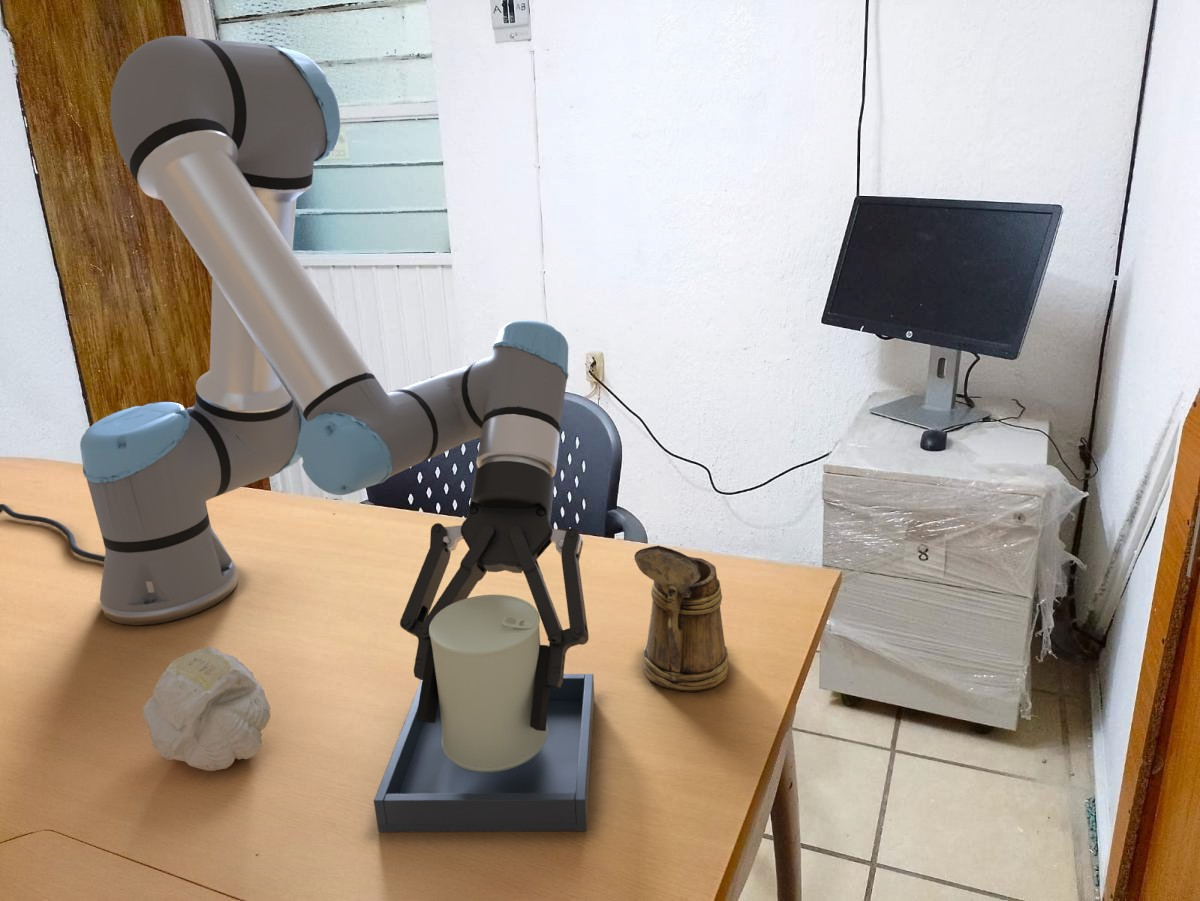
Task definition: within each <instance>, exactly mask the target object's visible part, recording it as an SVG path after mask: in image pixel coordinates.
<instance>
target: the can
mask: <svg viewBox="0 0 1200 901" xmlns="http://www.w3.org/2000/svg"><path fill="white" fill-rule="evenodd" d="M540 623H541V618H540V615H539V612H538V609H537V607H536V606H534V605H533V604H532V603H530V602H528V601H527V600H524V599H522V598H519V597H516V596H512V595H507V594H482V595H475V596H470V597H467V598H466V599H463V600H460V601H457V602H455V603H453V604H451V605H449V606H447V607H445V608H444V609H442V610H441V611H440V612H439V613H437V615H436V616H435V617H434V618H433V620H432V621H431V623H430V626H429V635H430V638H431V643H432V650H433V657H434V665H435V672H436V680H437V688H438V696H439V705H440V714H441V723H442V734H443V736H442V747H443V750H444V753H445V754H446V756H447V757H448V758H449V760H450V761H452V762H453V763H454V764H456V765H457V766H459V767H461V768H464V769H466V770H470V771H475V772H499V771H504V770H508V769H511V768H515V767H517V766H519V765H521V764H523V763H525V762H527V761H528V760H530V759H531V758H533V757H534V756H535V755H536V754H537V753H538V752H539V751H540V750H541V749H542V747H543V746H544V744H545V742H546V739H547V736H548V726H547V723H546V731H538V730H535V729H534V728H532V727H530V722H531V713H532V704H533V695H534V686H535V677H536V669H537V660H538V654H539V645H541V636H540V635H541V634H540Z"/></svg>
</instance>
